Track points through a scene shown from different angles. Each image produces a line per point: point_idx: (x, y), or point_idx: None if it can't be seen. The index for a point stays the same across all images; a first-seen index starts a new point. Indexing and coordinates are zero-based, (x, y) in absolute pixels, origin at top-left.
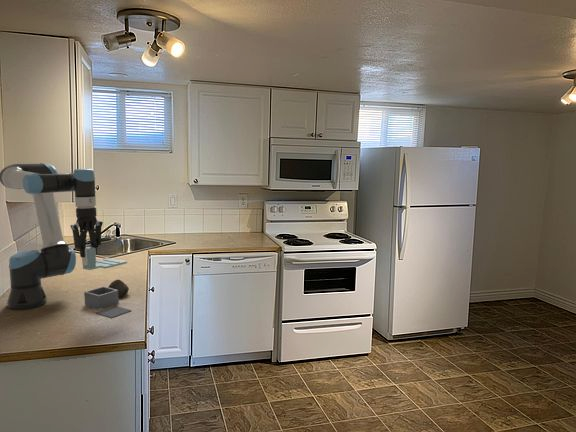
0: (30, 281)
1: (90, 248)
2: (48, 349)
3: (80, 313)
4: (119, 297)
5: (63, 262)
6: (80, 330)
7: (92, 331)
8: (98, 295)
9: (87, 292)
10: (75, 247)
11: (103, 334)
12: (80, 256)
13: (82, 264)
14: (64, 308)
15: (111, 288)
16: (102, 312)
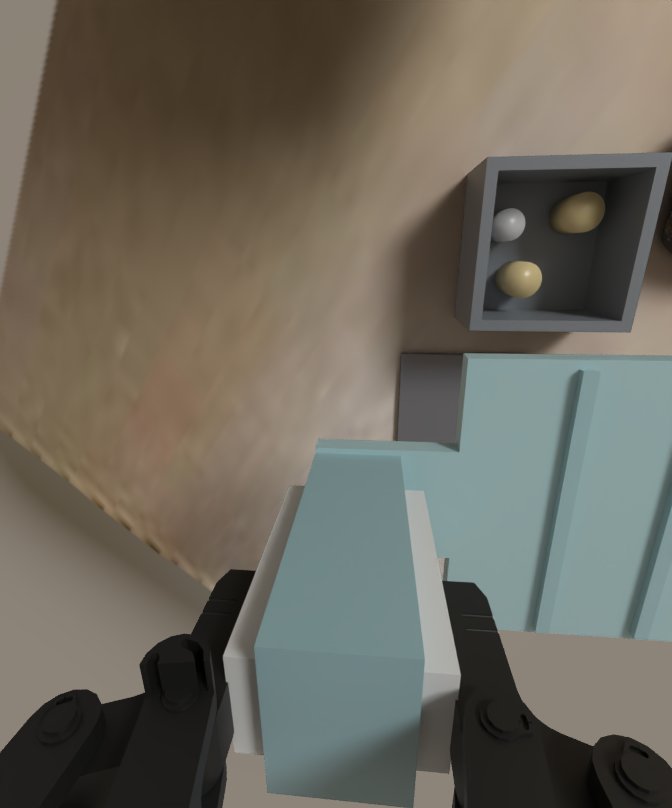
0: None
1: (317, 793)
2: (91, 500)
3: (360, 284)
4: (669, 249)
5: None
6: (240, 458)
7: (262, 501)
8: (476, 317)
9: (490, 189)
10: (38, 728)
11: None
12: (221, 578)
13: (288, 489)
14: (362, 120)
15: (646, 259)
16: (419, 380)
